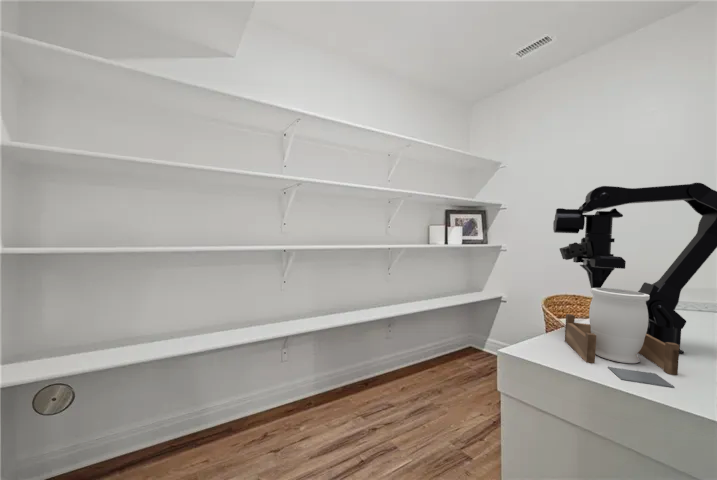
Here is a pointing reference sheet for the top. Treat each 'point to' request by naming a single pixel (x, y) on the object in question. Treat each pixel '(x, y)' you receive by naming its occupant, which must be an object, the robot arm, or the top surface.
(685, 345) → the top surface
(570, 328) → the low open wooden frame
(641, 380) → the plate
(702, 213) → the robot arm
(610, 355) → the jar
